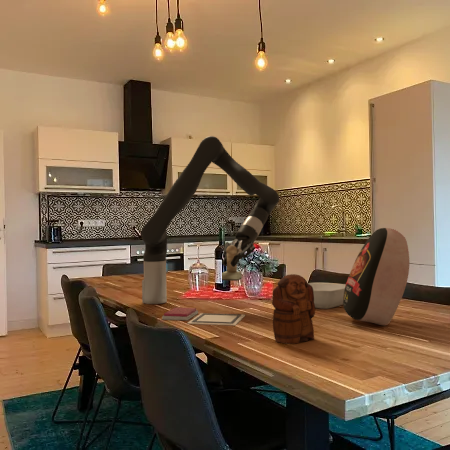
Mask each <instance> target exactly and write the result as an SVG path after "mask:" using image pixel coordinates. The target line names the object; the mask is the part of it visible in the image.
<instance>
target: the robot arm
mask: <svg viewBox="0 0 450 450" xmlns="http://www.w3.org/2000/svg"><path fill="white" fill-rule="evenodd" d="M211 164H214V165H216V166H217V167H218V168H220V169H221V170H222V171H224V172H225V173H226V174H227V175H228V176H229V177H230V178H231V179H232V180H233V182H234V183H235V184H236V185H237V186H238V187H239V188H241V190H243V192H244V193H245V194H247V195H248V196H251V197H253V196H255V195H256V196H257V197H259V199H258V200H257V201H256V203H255V206H254V207H253V208H252V210H251V211H250V212H249V214H248V216H247V217H246V218H245V219H244V220H243V223H241V225H240V227H239V229H238V230H237V231H236V232H235V238H234V240H233V241H231V242H228V241H226V242H225V244H224V248H223V255H224V258H223V260H222V261H221V264H222V265H223V266H224V267H227V252H226V249H227V247H228V246H230V245H233V246H235V247H236V248H237V253H236V256H234V258H233V259H232V261H231V263H230V264H231V265H232V266H233V267H235V266H236V265H238V263H239V261H240V260H242V259H244V260H245V259H246V258H247V257H248V256H250V255H251V253H253V252H254V250H256V246H255V241H256V240H257V238H258V237H259V235H260V233H261V232H262V229H263V227H264V225H265V224H266V222H267V220H268V218H269V216H270V215H271V213H272V211H273V210H274V209H275V207H276V206H277V205H278V203H279V201H280V196H279V194H278V192H277V191H276V190H275V189H274V188H272V187H270V186H268V185H267V184H265V183H264V182H261V181H260V180H258V178H257V177H256V176H255V175H254V174H252V172H250V171H248V170H247V168H245V167H244V166H242V165H241V164H240V163H239V162H238V161H236V160H235V159H234V158H233V157H232V156H231V155H230V153H229V152H228V151H227V150H226V148H225V147H224V145H223V143H222V142H221V141H220V139H219V138H218V137H217V136H214V135H209V136H206V137H204V138H203V139H201V141H200V142H199V144H198V147H197V148H196V150H195V152H194V154H193V156H192V158H191V159H190V161H189V163H188V164H187V165H186V167H185V168H184V169H183V170H182V172H181V173H180V175H179V176H178V177H177V178H176V180H175V182H174V183H173V184H172V186H171V188H169V190H168V192H167V194H166V195H165V197H164V198H163V200H162V201H161V203H160V205H159V206H158V209H157V210H156V211H155V212H154V213H153V215H152V216H151V217H150V219H149V220H148V221H147V222H146V223H145V224H144V226H143V227H142V229H141V234H140V236H141V239H142V241H143V243H145V246H144V247H145V249H144V253H143V256H142V257H143V279H142V280H141V294H142V295H141V301H142V302H141V303H142V304H148V305H159V304H165V303H167V300H168V299H167V253H168V233H167V228H168V227H169V225H170V224H171V222H172V221H173V219H174V218H175V217H177V215H179V213H180V212H182V211H183V210H184V208H185V207H186V206H187V205H188V204H189V203H190V201H191V200H192V198H193V197H194V195H195V193H196V192H197V190H198V188H199V186H200V183H201V180H202V179H203V175H204V174H205V172H206V170H207V169H208V168H209V166H210V165H211Z"/></svg>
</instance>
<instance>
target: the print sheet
mask: <svg viewBox="0 0 450 450" xmlns="http://www.w3.org/2000/svg"><path fill="white" fill-rule="evenodd" d="M245 316H246V314H239V313H238V314H237V313H211V312H210V313H207V312H205V313H204V312H203V313H202V312H201V313H199V314H197V315H196V316H194V318H191V320H188V322H187V323H186V324H187V325H209V326H211V325H212V326H235V327H236V325H238V324H239V323H240V322H241V321H242V320H243V318H244V317H245Z"/></svg>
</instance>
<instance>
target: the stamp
mask: <svg viewBox="0 0 450 450" xmlns="http://www.w3.org/2000/svg"><path fill="white" fill-rule="evenodd" d="M226 252H227V266H226V271H224V272H221V280H222V281H230V282H231V281H232V282H233V281H240V280H242V278H243V276H242V275H243V274H242V271H241V270H240V271H238V266H237V265H238V264H237V265H236V266H235V267H233V266H232V265H231V264H230V263H231V261H232V259H233V258H234V256H236V253H237V248H236V247H235V246H233V245H230V246H228V247H227V249H226Z"/></svg>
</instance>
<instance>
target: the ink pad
mask: <svg viewBox="0 0 450 450" xmlns="http://www.w3.org/2000/svg"><path fill="white" fill-rule="evenodd" d="M198 315H199V310H198V309H197V308H196V307H174V308H172V309H169V310H167V311H166V312H164V313H163V315H162V317H161V320H163V321H164V320H165V321H190V319H191V320H192V319H193V317H194V318H195V317H196V316H198Z"/></svg>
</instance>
